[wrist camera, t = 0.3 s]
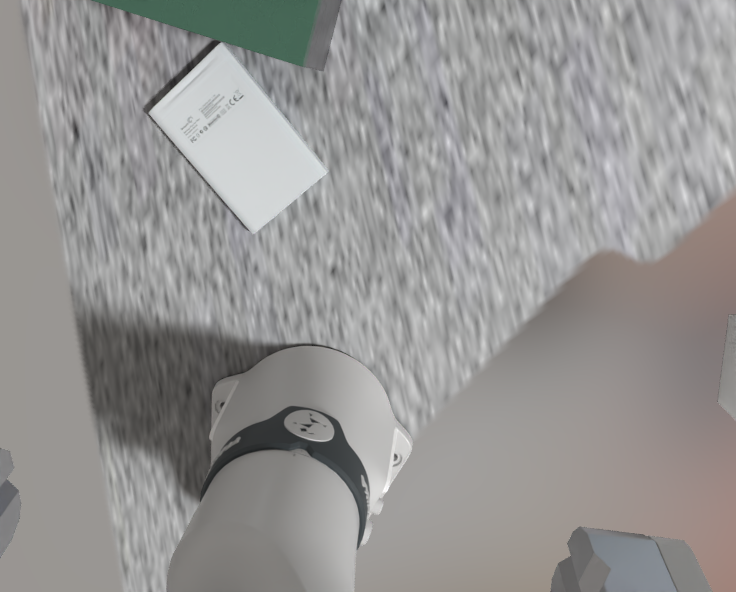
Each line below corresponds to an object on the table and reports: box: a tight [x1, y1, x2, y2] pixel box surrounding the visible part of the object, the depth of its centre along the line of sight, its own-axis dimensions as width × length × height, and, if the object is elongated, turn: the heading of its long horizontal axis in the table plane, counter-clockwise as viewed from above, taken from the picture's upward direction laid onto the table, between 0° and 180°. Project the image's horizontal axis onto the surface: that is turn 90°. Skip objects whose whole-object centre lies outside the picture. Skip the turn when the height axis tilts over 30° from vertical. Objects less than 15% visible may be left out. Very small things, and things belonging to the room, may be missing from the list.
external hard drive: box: [149, 42, 329, 235], centre depth 49 cm, size 2×8×12 cm
